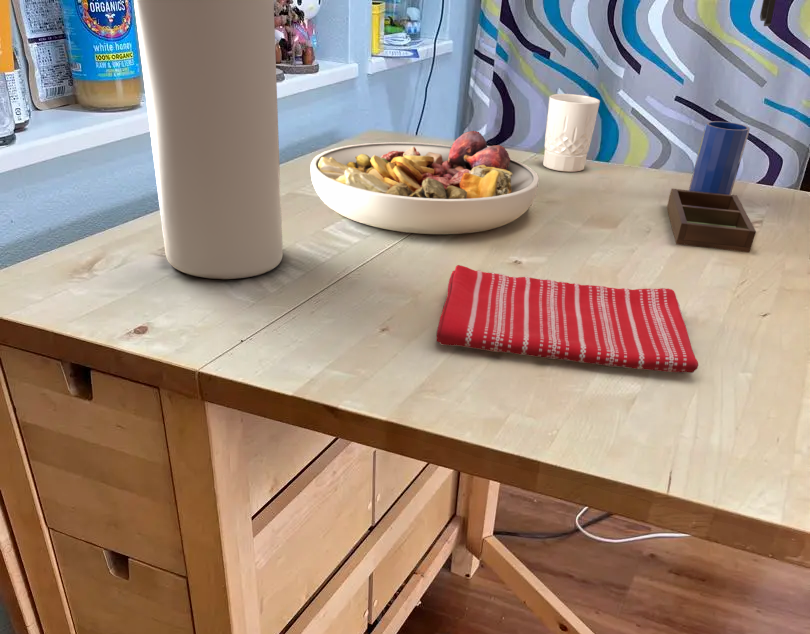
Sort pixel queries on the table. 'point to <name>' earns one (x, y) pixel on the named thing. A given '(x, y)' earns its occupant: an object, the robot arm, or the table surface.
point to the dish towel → (566, 321)
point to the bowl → (425, 185)
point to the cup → (719, 157)
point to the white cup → (569, 131)
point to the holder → (710, 220)
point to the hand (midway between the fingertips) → (802, 25)
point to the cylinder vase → (214, 132)
